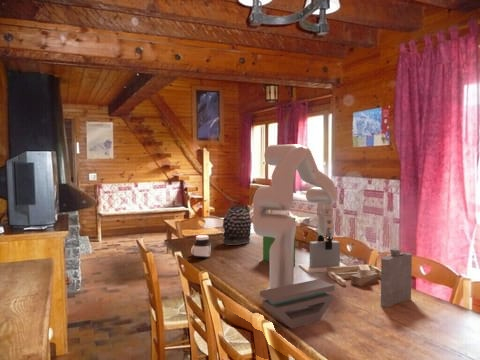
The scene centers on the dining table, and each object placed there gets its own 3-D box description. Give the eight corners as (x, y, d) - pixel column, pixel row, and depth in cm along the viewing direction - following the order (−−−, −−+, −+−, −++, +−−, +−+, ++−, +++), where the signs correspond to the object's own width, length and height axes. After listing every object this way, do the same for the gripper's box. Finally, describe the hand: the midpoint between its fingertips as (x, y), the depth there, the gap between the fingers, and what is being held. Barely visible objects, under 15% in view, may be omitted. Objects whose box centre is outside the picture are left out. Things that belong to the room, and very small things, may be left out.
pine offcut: (367, 271, 175) (367, 264, 174) (370, 277, 166) (370, 270, 166) (358, 271, 175) (358, 264, 175) (360, 276, 166) (360, 269, 166)
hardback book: (295, 265, 198) (295, 218, 197) (283, 267, 195) (283, 219, 193) (274, 257, 214) (274, 213, 212) (263, 259, 210) (263, 214, 209)
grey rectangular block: (339, 266, 192) (339, 242, 191) (312, 268, 189) (312, 243, 189) (336, 264, 196) (336, 240, 195) (309, 265, 193) (309, 241, 193)
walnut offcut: (378, 282, 172) (378, 273, 172) (360, 287, 165) (360, 278, 165) (368, 279, 176) (368, 270, 176) (350, 284, 169) (351, 275, 169)
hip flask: (386, 308, 141) (387, 253, 140) (376, 304, 144) (377, 250, 143) (412, 299, 150) (413, 247, 149) (403, 296, 153) (404, 245, 152)
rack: (391, 282, 170) (391, 274, 170) (342, 286, 166) (342, 277, 166) (371, 271, 186) (371, 264, 186) (326, 274, 182) (326, 267, 182)
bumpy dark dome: (241, 239, 263) (241, 202, 262) (257, 242, 252) (257, 203, 251) (217, 243, 249) (216, 204, 248) (232, 247, 238) (232, 206, 237)
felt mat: (351, 270, 189) (351, 268, 189) (307, 272, 185) (307, 270, 185) (340, 263, 201) (340, 261, 201) (299, 266, 197) (299, 264, 197)
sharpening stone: (273, 333, 121) (273, 298, 121) (259, 324, 128) (259, 291, 127) (334, 316, 134) (334, 285, 133) (318, 309, 141) (318, 279, 140)
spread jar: (205, 260, 209) (204, 238, 209) (185, 258, 213) (185, 237, 212) (213, 254, 221) (213, 234, 220) (195, 253, 224) (195, 233, 224)
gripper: (339, 214, 184) (339, 251, 184) (325, 210, 201) (324, 243, 201) (324, 215, 182) (324, 251, 183) (311, 210, 199) (310, 243, 200)
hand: (324, 247), depth 192 cm, fingers open, 9 cm apart
